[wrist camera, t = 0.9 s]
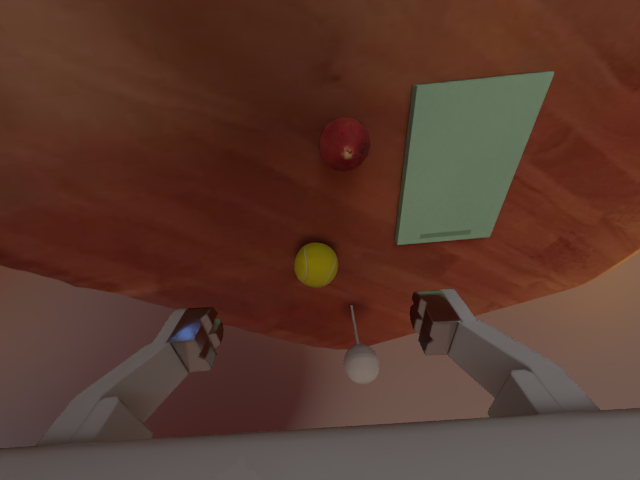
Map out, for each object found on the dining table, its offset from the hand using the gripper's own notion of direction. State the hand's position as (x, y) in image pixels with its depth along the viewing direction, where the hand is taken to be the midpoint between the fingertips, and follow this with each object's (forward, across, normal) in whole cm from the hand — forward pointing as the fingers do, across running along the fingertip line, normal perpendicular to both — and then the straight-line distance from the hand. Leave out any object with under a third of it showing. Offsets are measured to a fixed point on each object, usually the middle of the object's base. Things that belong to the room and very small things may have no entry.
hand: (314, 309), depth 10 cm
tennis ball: (+27, +1, +15) cm, 31 cm away
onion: (+26, -4, -3) cm, 27 cm away
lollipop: (+28, -5, +30) cm, 42 cm away
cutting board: (+26, -20, +3) cm, 33 cm away
